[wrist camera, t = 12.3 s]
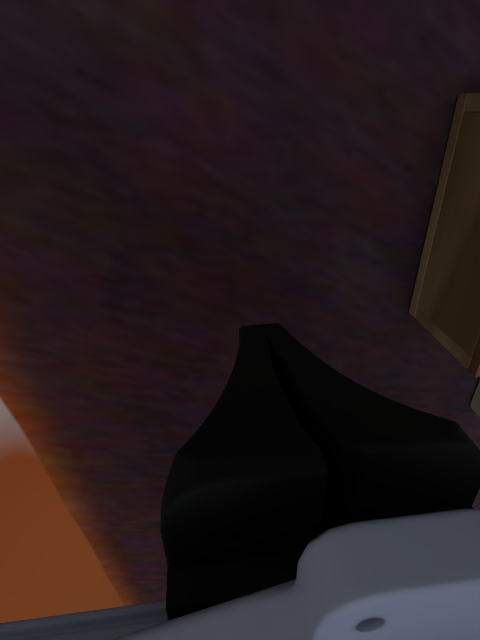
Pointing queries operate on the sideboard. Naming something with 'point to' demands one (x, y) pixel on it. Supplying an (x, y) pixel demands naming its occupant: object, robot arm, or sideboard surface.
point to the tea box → (454, 242)
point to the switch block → (476, 400)
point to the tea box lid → (475, 362)
